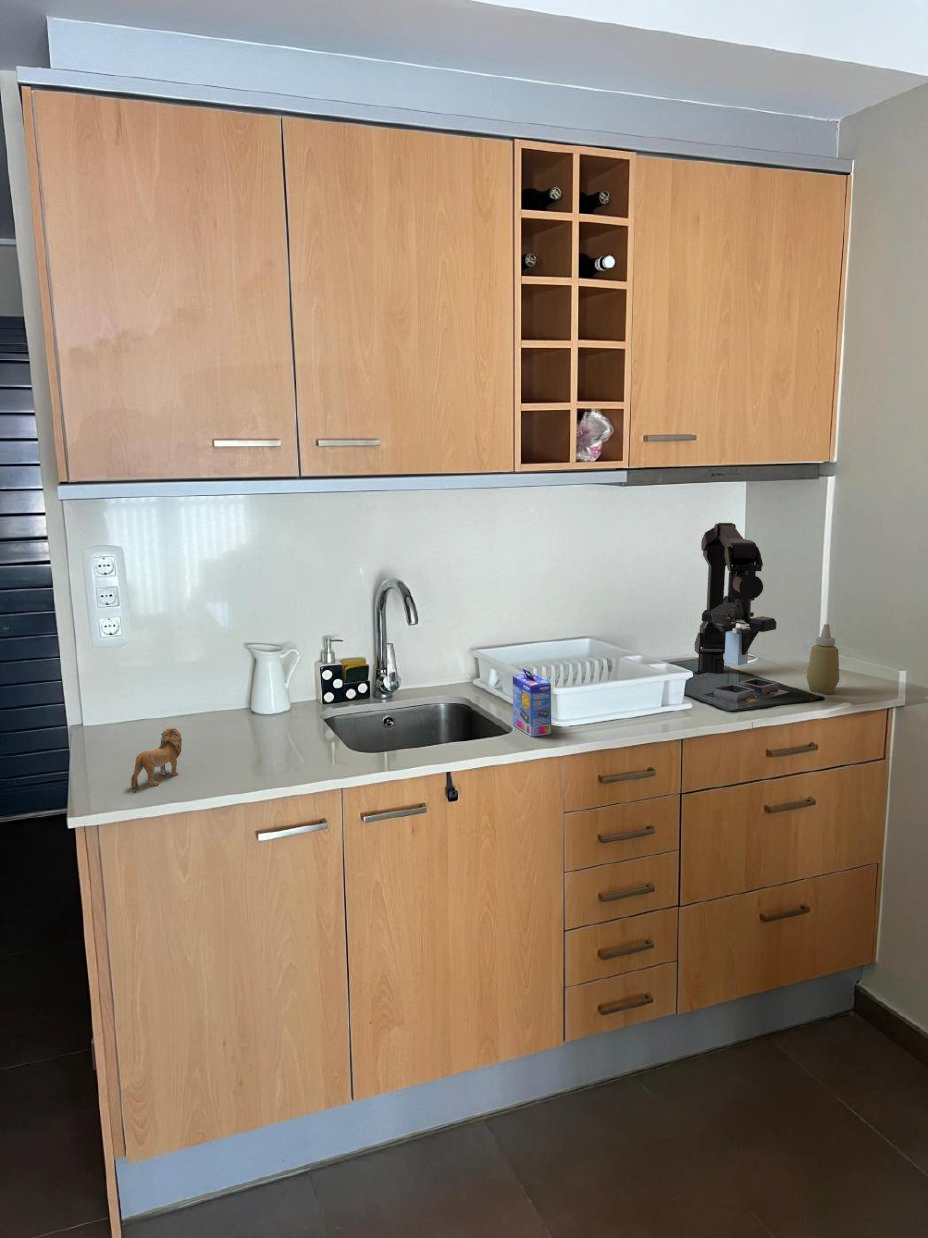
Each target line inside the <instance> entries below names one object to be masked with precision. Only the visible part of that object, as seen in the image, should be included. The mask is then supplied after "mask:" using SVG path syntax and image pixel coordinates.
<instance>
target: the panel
mask: <svg viewBox="0 0 928 1238" xmlns="http://www.w3.org/2000/svg"><path fill="white" fill-rule="evenodd" d="M788 693H789V691H787V690H783V689H780V688H779V682H775V681H770V680H766V679H763V678H757V677H753V678H750V679H745V680H741V681H738V684H733V683H729V684H725V685H721V686H719V687H714V689H713V691H712V692H708V693H704V694H702V696H705V697H710V698H713V699H716V700H720V701H724V702H728V703H731V704H735V705H737V706H738V705H739V706H744V705H747V704H752V703H754V702H758V701H761V700H766V699H771V698H773V697H777V696H780V695H784V694H788Z"/></svg>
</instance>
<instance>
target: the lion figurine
mask: <svg viewBox="0 0 928 1238" xmlns="http://www.w3.org/2000/svg"><path fill="white" fill-rule="evenodd" d="M160 735H161V737H160V745H159V747H157V748H155V749H153V750H144V751H141V752H140V753H139V754H138V755H137V756H136V758H135V765H134V772H133V774H131V779H130V787H131V788H133V789H134V791H138V789H139V783H138V781H139V779H138V776H139V775H140V773H142V771H143V769H144V770H145V772H146V773H147V781H148V782H149V783H150V784H151V785H152V786H153V787H155V786H160V783H159V782H158V781H157V780H156V781H155V780H154V774H155V768H159V767H160V768H159V769H160V771H159V774H160V775H162V776H165V775H166V774H167V770H166V764H168V763H170V765H171V770H170V771H171V775H172V776H179V772H178V771H177V766H178V765H177V764H178V760H177V759H178V758H179V756H181V752H182V746H183V745H182V733H180V731H178V729H177V728H176V727H167V728H165V730H163V731H162V732H161V734H160Z"/></svg>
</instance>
